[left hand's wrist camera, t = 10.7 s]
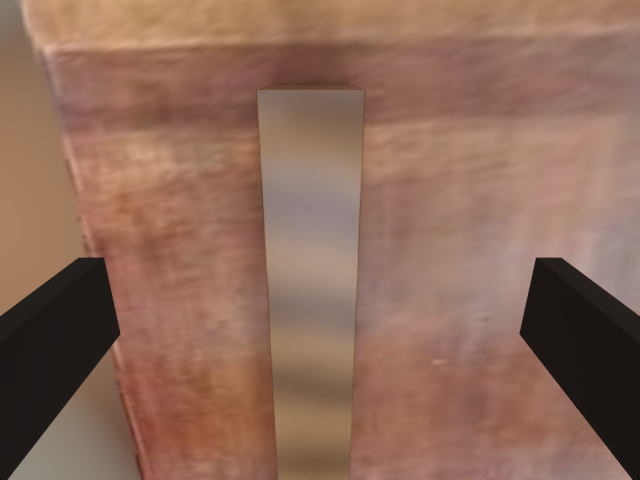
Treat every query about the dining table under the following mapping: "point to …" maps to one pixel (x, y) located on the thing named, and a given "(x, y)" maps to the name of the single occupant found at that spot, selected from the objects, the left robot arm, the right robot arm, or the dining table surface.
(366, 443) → the dining table surface
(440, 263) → the dining table surface
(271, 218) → the bar
